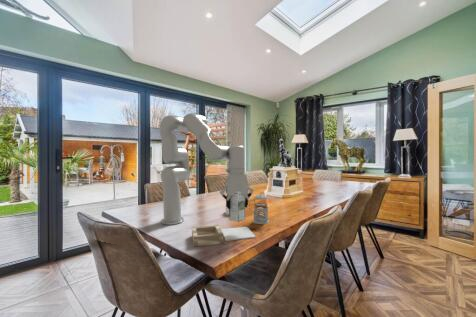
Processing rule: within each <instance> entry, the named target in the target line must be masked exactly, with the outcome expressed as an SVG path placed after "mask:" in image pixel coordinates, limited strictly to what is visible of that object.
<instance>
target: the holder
mask: <svg viewBox="0 0 476 317" xmlns="http://www.w3.org/2000/svg"><path fill="white" fill-rule="evenodd" d="M221 229H222V228H221V227H220V225H219V224H217V225H215V224H214V225H205V226H195V227H193V226H192V227H191V236H192V237H191V238H192V245H193V247H202V246H203V247H204V246H211V245H220V244H224V236H223V233H222V231H221Z"/></svg>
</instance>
